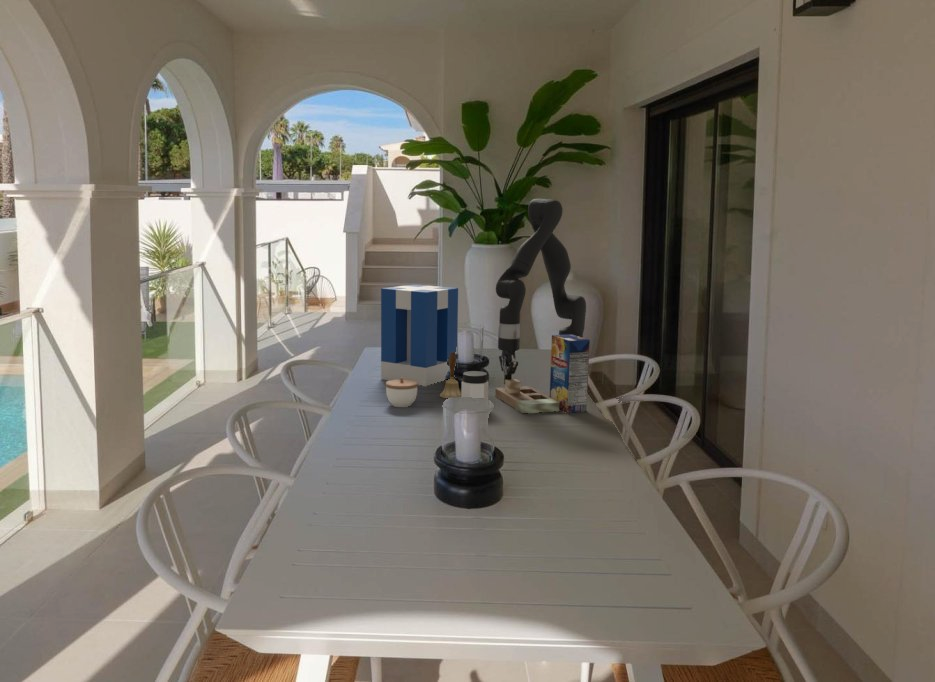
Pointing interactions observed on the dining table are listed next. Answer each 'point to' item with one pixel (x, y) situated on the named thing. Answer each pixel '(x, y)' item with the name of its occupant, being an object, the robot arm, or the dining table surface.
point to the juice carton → (569, 372)
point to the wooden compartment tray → (528, 400)
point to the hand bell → (451, 381)
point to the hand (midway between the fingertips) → (507, 384)
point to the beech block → (512, 386)
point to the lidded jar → (401, 392)
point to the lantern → (418, 332)
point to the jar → (475, 384)
